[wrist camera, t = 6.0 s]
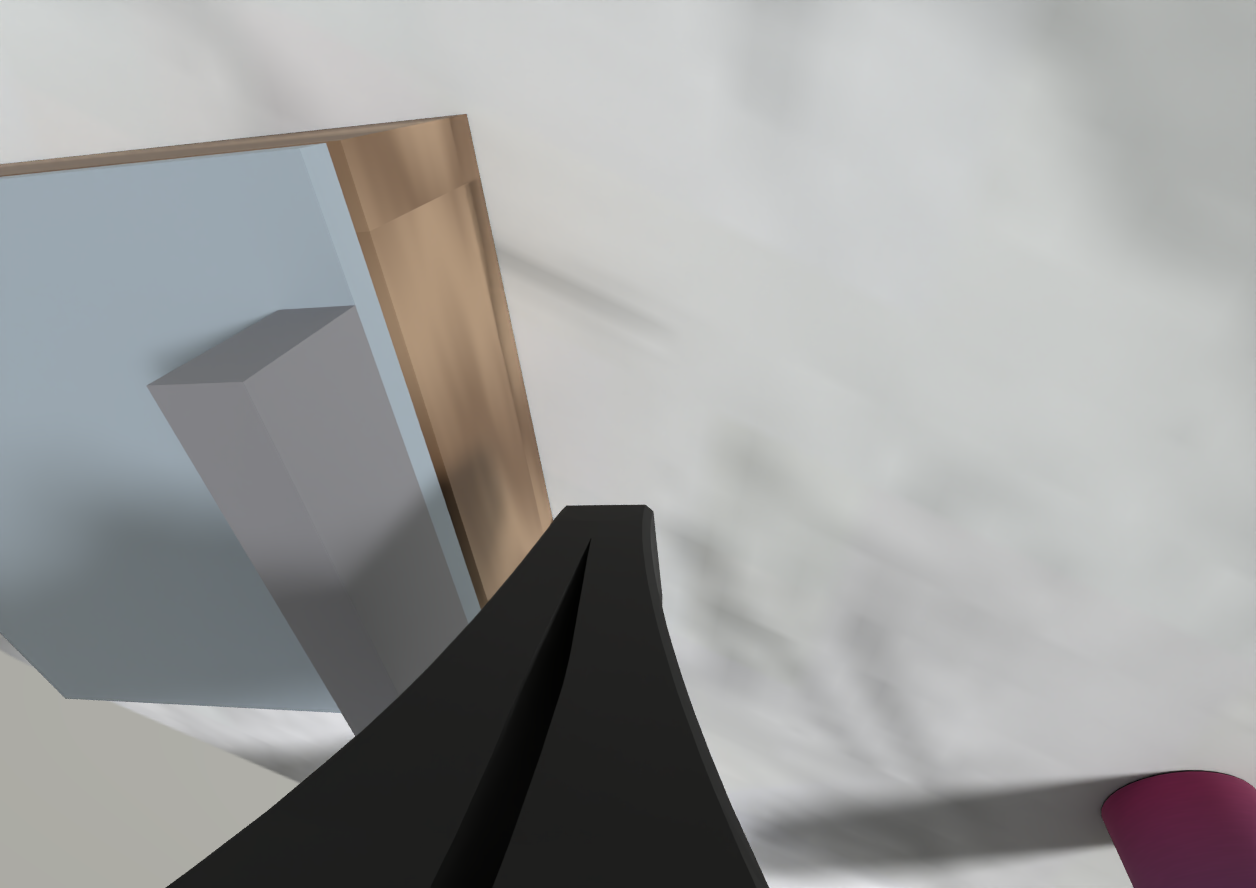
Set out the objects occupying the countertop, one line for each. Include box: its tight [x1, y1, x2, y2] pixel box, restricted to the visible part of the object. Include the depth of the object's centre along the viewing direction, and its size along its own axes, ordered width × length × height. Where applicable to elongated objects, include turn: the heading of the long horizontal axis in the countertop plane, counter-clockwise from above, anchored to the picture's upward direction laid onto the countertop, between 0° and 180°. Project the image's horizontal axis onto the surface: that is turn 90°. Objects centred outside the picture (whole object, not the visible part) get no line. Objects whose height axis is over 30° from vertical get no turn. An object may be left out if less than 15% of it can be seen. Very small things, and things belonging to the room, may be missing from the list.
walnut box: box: [0, 114, 553, 609], centre depth 14 cm, size 12×12×5 cm
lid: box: [0, 143, 481, 736], centre depth 11 cm, size 12×12×3 cm
